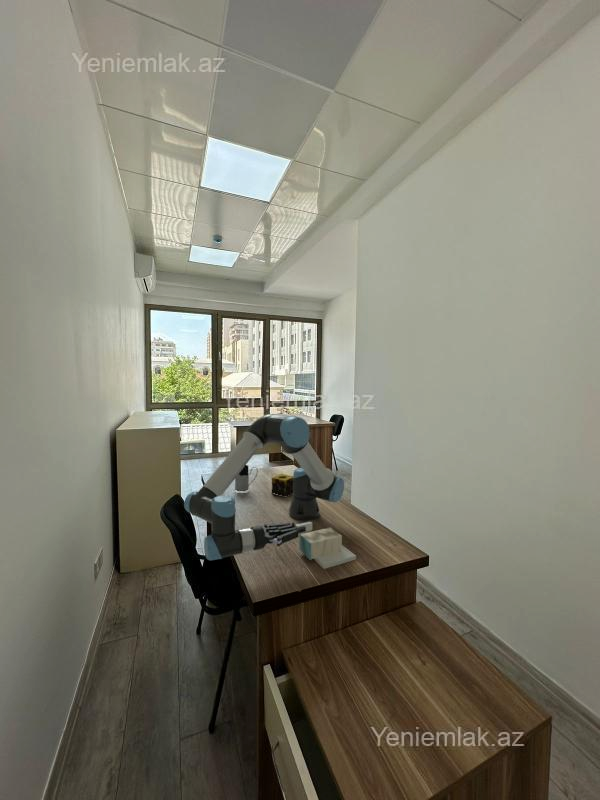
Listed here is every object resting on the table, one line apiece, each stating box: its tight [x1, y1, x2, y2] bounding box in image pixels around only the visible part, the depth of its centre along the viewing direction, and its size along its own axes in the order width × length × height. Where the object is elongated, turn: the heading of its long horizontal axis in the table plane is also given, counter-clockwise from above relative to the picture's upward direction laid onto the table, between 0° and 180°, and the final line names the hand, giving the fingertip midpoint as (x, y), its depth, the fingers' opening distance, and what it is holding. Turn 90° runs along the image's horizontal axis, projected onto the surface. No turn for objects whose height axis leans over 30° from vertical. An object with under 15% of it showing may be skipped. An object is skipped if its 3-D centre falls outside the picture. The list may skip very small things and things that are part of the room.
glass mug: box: [234, 464, 259, 491], centre depth 195 cm, size 9×14×15 cm, turn 119°
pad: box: [313, 544, 357, 570], centre depth 127 cm, size 18×14×2 cm
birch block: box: [298, 527, 343, 561], centre depth 125 cm, size 8×6×14 cm
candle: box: [271, 473, 293, 497], centre depth 191 cm, size 10×10×10 cm
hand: (311, 525), depth 123 cm, fingers closed
